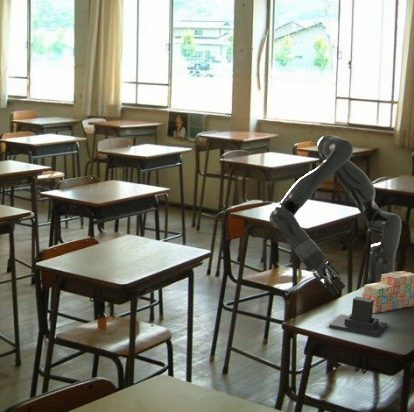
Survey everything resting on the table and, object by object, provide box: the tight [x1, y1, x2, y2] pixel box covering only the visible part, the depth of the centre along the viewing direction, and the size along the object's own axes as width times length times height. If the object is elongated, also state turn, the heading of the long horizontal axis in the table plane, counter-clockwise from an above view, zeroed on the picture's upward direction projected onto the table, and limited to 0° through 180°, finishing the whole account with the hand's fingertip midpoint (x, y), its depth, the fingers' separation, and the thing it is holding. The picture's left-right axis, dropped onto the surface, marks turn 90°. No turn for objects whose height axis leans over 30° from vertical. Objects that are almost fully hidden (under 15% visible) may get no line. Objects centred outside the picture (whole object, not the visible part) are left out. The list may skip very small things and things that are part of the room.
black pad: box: [351, 296, 374, 323], centre depth 297 cm, size 4×6×9 cm, turn 57°
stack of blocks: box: [362, 270, 414, 314], centre depth 321 cm, size 21×6×12 cm, turn 121°
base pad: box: [328, 313, 388, 338], centre depth 299 cm, size 14×16×3 cm
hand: (340, 291), depth 301 cm, fingers open, 8 cm apart
